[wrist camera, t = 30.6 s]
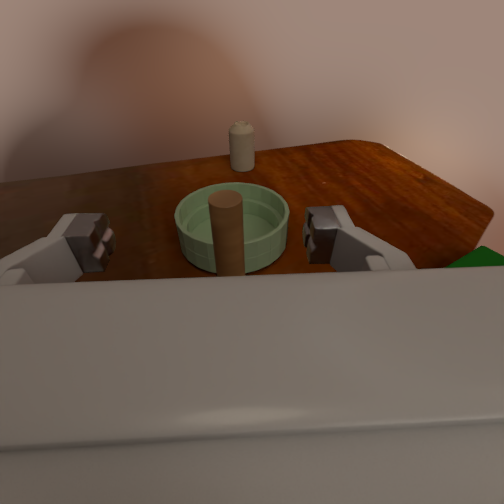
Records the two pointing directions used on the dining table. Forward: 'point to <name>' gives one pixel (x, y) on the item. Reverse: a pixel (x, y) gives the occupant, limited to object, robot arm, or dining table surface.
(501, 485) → the robot arm
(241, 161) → the candle
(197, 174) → the dining table surface
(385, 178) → the dining table surface
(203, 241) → the bowl
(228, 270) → the wooden dowel stand
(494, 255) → the dish sponge
